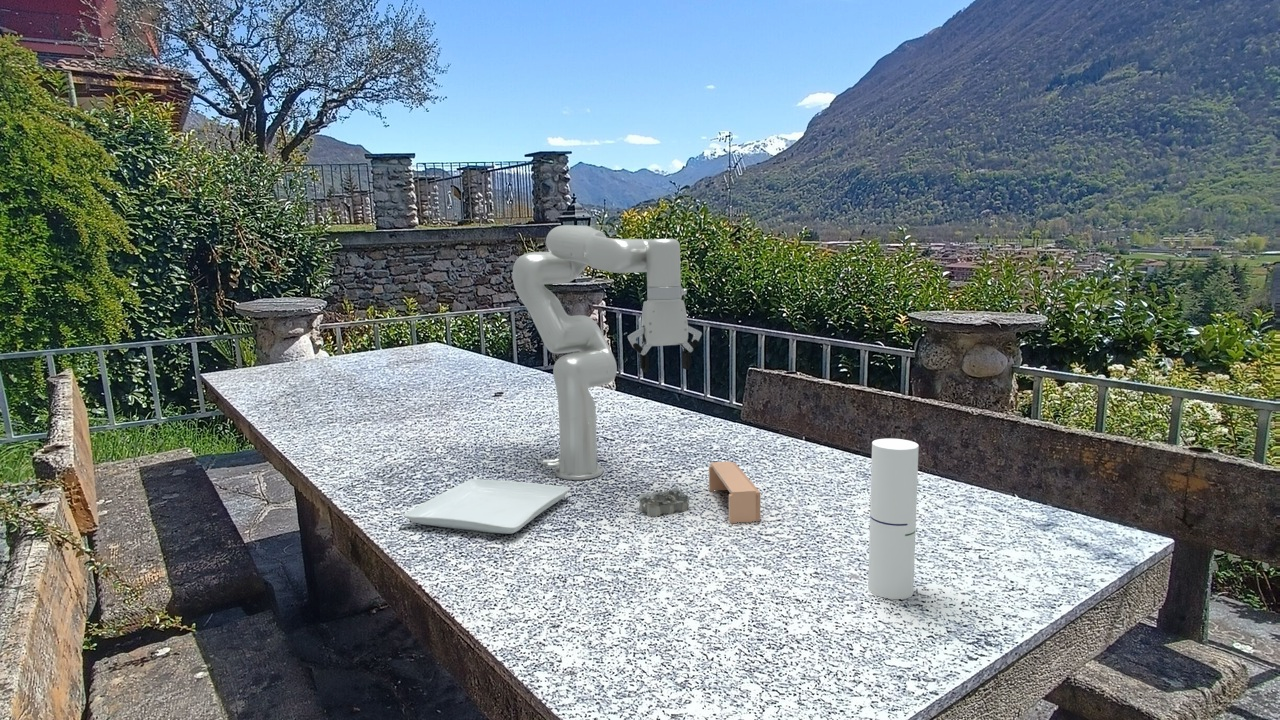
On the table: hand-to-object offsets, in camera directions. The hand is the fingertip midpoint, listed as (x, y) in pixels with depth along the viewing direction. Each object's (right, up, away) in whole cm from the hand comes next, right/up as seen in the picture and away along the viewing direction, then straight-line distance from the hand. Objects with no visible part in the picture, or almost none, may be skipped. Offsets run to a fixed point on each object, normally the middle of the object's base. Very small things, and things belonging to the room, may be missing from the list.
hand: (665, 370), depth 166 cm
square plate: (-39, -32, -4) cm, 50 cm away
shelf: (+14, -30, -1) cm, 34 cm away
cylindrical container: (+36, -36, -44) cm, 67 cm away
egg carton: (-1, -31, -3) cm, 31 cm away
